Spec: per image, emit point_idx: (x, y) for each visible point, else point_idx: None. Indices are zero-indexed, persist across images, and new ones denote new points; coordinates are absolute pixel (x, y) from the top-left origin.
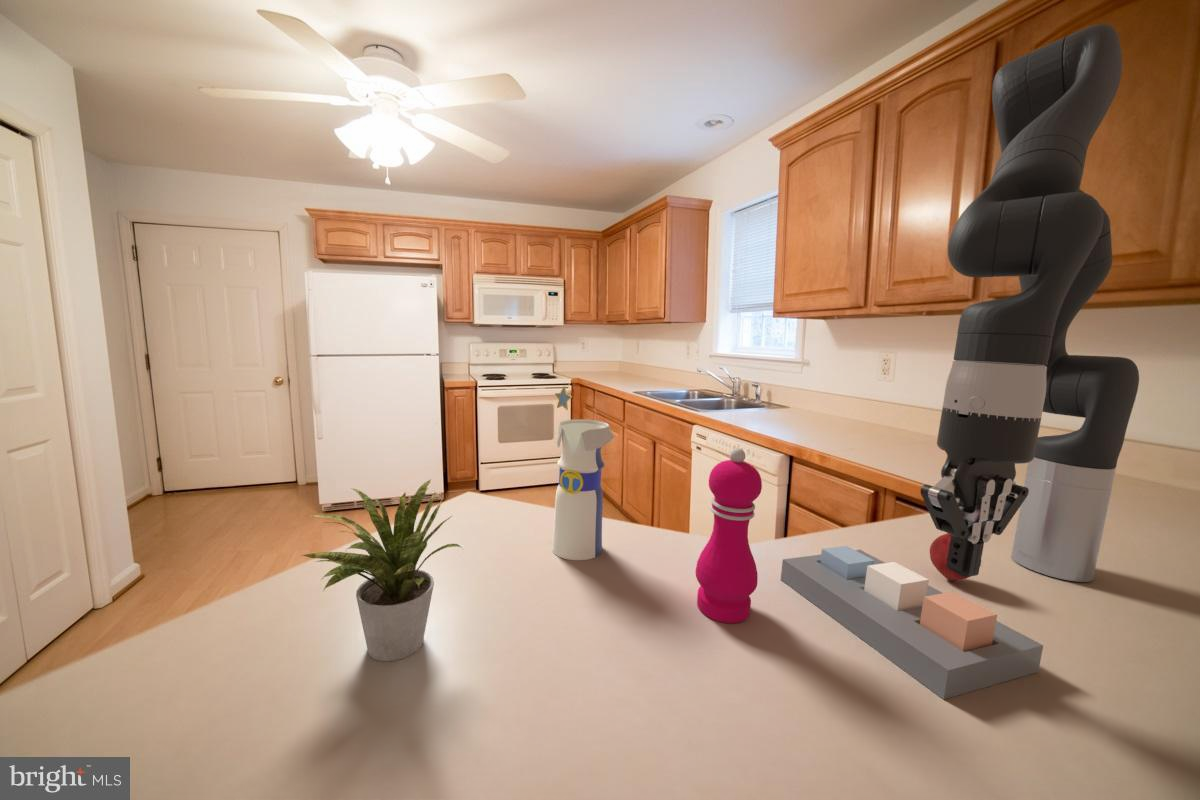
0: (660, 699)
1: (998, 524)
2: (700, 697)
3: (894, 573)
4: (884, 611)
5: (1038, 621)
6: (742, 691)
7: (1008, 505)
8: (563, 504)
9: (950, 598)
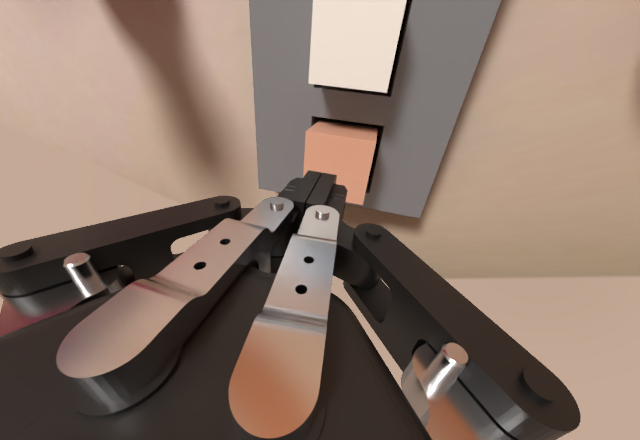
0: (23, 65)
1: (349, 294)
2: (57, 78)
3: (341, 39)
4: (290, 78)
5: (605, 158)
6: (95, 88)
7: (393, 353)
8: None
9: (345, 153)
